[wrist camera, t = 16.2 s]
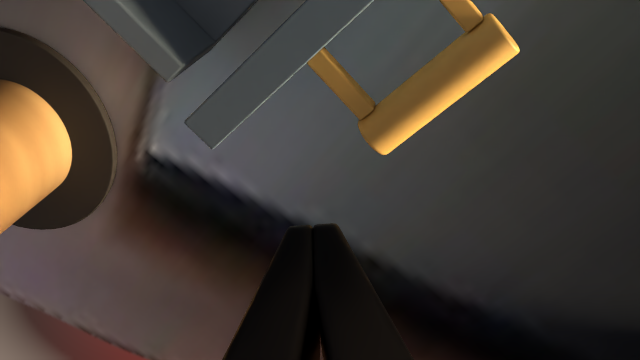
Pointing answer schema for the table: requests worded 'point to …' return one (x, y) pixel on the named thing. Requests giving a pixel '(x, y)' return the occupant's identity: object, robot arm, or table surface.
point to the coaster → (80, 122)
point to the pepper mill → (29, 151)
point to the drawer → (304, 61)
